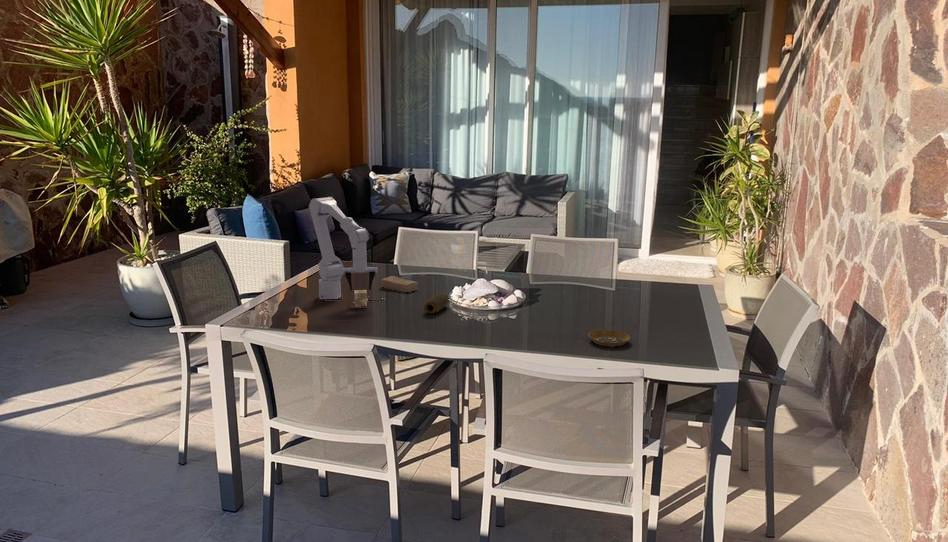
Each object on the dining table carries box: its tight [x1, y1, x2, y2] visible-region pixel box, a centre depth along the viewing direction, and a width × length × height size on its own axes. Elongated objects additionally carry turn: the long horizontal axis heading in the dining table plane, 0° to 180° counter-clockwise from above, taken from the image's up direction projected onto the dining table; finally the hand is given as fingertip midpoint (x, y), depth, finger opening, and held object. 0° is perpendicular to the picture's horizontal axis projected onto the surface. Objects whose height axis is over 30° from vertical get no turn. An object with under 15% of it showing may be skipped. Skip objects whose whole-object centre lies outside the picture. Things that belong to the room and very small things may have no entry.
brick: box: [380, 275, 419, 293], centre depth 337 cm, size 17×8×5 cm, turn 53°
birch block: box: [354, 289, 368, 307], centre depth 307 cm, size 5×5×6 cm
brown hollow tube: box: [423, 291, 450, 314], centre depth 303 cm, size 15×7×7 cm, turn 165°
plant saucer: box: [588, 329, 631, 348], centre depth 265 cm, size 15×15×3 cm
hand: (360, 289), depth 306 cm, fingers open, 7 cm apart
